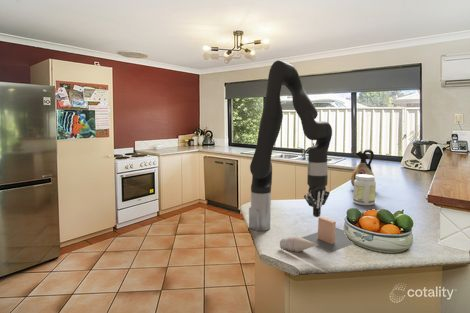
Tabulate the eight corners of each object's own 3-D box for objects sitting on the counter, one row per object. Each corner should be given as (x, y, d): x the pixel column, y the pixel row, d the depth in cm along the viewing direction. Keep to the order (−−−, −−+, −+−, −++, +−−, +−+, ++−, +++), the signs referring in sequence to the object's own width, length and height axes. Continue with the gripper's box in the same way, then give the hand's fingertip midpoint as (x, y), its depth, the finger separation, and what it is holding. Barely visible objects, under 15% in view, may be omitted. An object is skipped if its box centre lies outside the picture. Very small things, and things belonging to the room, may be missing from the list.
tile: (331, 244, 117) (332, 222, 116) (317, 238, 123) (318, 217, 122) (334, 242, 118) (335, 221, 117) (321, 237, 124) (321, 216, 123)
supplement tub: (370, 200, 183) (372, 174, 181) (377, 206, 171) (379, 177, 169) (350, 200, 184) (351, 173, 182) (356, 205, 172) (357, 177, 170)
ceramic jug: (348, 191, 207) (350, 149, 203) (353, 187, 219) (355, 147, 216) (374, 195, 197) (377, 150, 193) (378, 190, 210) (380, 149, 206)
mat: (329, 254, 110) (329, 252, 109) (298, 239, 123) (298, 238, 123) (366, 239, 123) (366, 238, 123) (334, 228, 136) (334, 227, 136)
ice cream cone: (319, 256, 107) (281, 254, 115) (321, 241, 111) (284, 240, 119) (315, 248, 104) (276, 246, 111) (317, 233, 108) (279, 232, 115)
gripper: (313, 176, 107) (313, 222, 109) (336, 172, 114) (335, 215, 116) (298, 173, 113) (297, 217, 115) (320, 170, 120) (320, 211, 122)
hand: (316, 216), depth 115 cm, fingers closed
